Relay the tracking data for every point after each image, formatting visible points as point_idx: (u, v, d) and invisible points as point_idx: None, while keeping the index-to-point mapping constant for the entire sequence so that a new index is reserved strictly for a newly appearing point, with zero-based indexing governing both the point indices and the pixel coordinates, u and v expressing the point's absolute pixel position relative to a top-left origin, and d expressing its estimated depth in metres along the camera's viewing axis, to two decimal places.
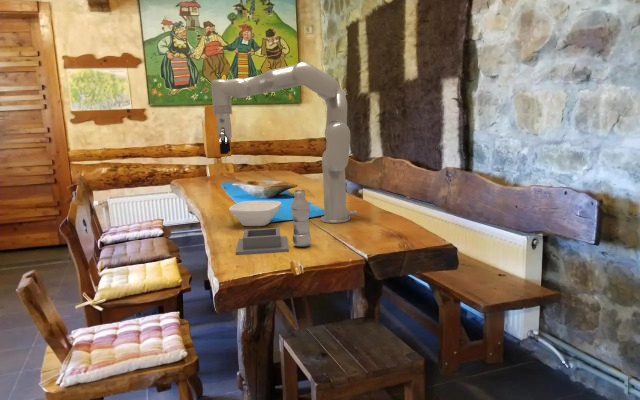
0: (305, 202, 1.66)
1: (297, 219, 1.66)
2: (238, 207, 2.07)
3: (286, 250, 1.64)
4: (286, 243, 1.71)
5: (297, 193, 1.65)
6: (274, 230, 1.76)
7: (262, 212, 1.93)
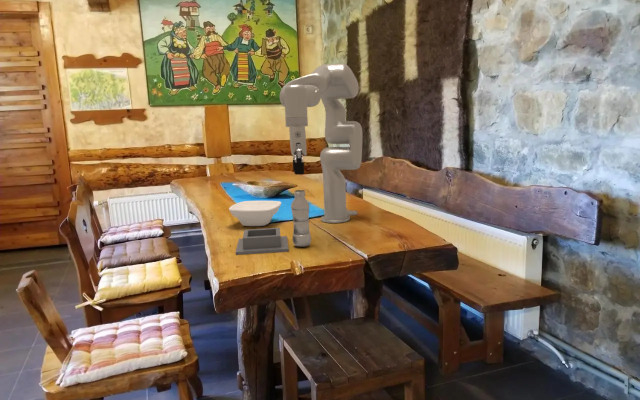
0: (305, 202, 1.66)
1: (297, 219, 1.66)
2: (238, 207, 2.07)
3: (286, 250, 1.64)
4: (286, 243, 1.71)
5: (297, 193, 1.65)
6: (274, 230, 1.76)
7: (262, 212, 1.93)
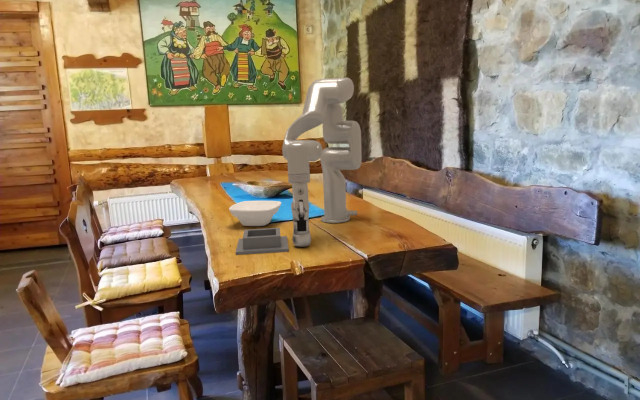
0: None
1: (297, 219, 1.66)
2: (238, 207, 2.07)
3: (286, 250, 1.64)
4: (286, 243, 1.71)
5: None
6: (274, 230, 1.76)
7: (262, 212, 1.93)
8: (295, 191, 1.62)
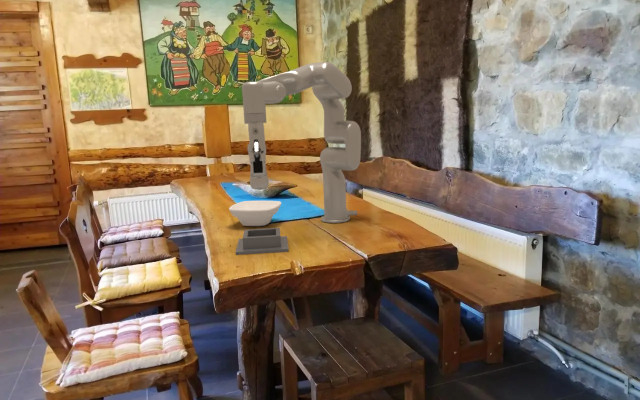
0: None
1: None
2: (238, 207, 2.07)
3: (286, 250, 1.64)
4: (286, 243, 1.71)
5: None
6: (274, 230, 1.76)
7: (262, 212, 1.93)
8: (250, 131, 1.60)
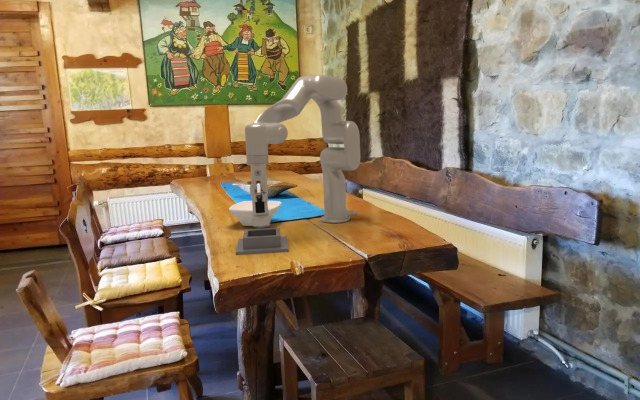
0: None
1: (255, 201, 1.66)
2: (238, 207, 2.07)
3: (286, 250, 1.64)
4: (286, 243, 1.71)
5: None
6: (274, 230, 1.76)
7: None
8: (252, 172, 1.62)
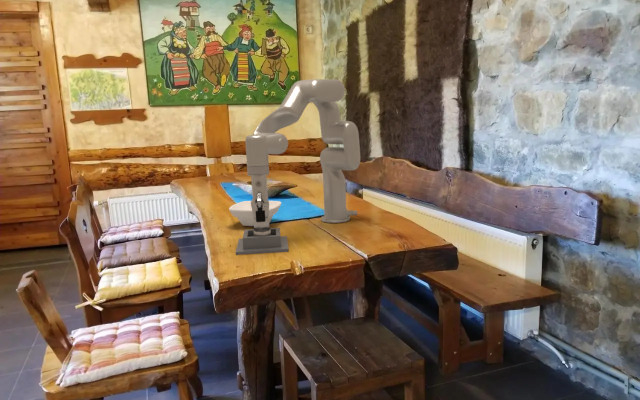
0: None
1: None
2: (238, 207, 2.07)
3: (286, 250, 1.64)
4: (286, 243, 1.71)
5: None
6: (274, 230, 1.76)
7: None
8: (253, 183, 1.63)
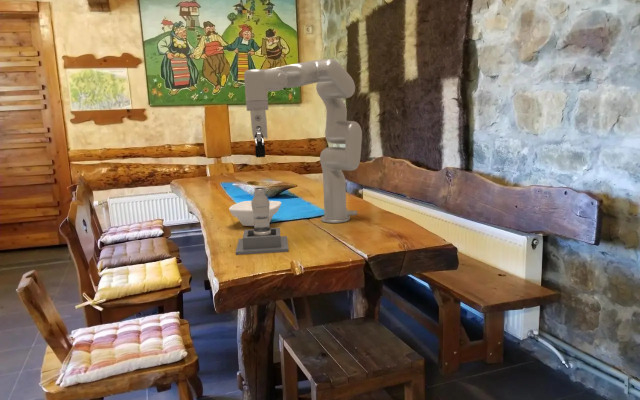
0: (265, 200, 1.68)
1: (257, 217, 1.68)
2: (238, 207, 2.07)
3: (286, 250, 1.64)
4: (286, 243, 1.71)
5: (257, 190, 1.67)
6: (274, 230, 1.76)
7: None
8: (253, 118, 1.62)
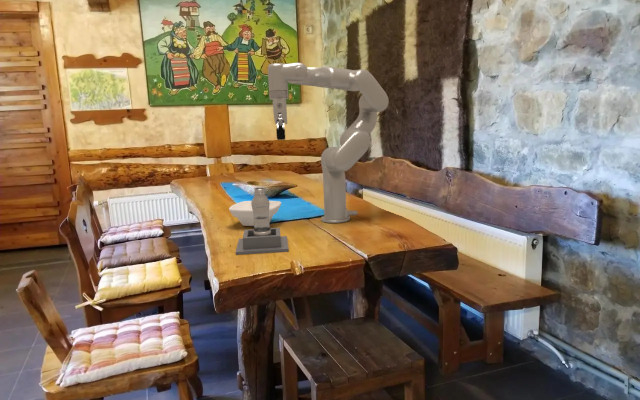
0: (265, 200, 1.68)
1: (257, 217, 1.68)
2: (238, 207, 2.07)
3: (286, 250, 1.64)
4: (286, 243, 1.71)
5: (257, 190, 1.67)
6: (274, 230, 1.76)
7: None
8: (275, 105, 1.86)
